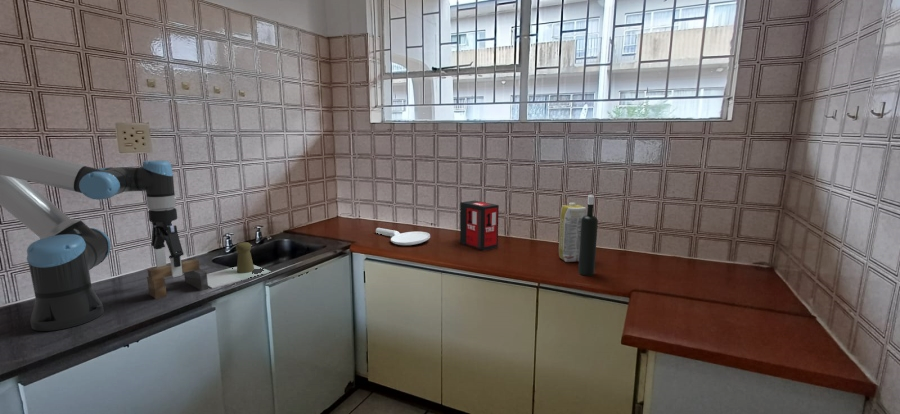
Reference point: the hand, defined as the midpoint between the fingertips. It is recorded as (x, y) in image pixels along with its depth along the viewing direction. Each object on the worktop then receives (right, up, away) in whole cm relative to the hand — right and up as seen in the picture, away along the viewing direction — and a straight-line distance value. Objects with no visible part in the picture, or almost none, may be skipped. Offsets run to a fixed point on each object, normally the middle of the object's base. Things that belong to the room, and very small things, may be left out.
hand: (169, 271), depth 135 cm
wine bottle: (+145, -4, +19) cm, 146 cm away
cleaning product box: (+107, +3, +58) cm, 121 cm away
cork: (+15, -3, +21) cm, 26 cm away
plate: (+12, -4, +17) cm, 21 cm away
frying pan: (+68, +5, +69) cm, 97 cm away
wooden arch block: (+1, -7, +2) cm, 7 cm away
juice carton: (+144, -1, +36) cm, 148 cm away
